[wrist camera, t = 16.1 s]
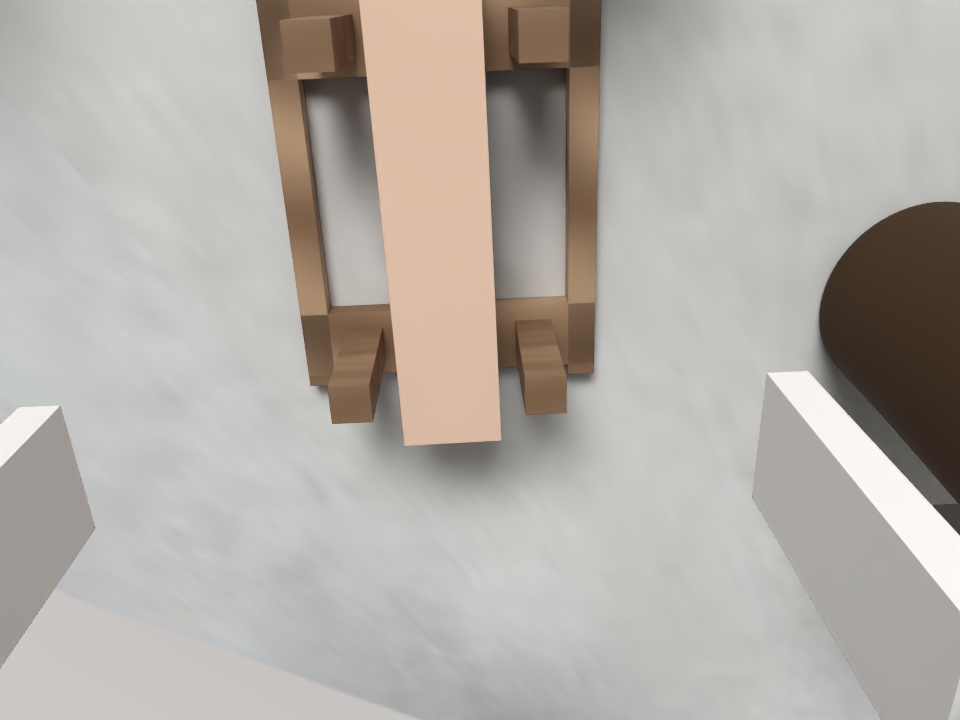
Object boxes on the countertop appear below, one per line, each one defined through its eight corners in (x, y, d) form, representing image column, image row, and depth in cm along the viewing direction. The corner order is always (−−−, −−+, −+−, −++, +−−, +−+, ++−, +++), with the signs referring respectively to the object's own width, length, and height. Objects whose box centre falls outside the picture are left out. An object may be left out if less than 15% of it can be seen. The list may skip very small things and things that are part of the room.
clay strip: (370, -36, 30) (355, -41, 26) (476, -42, 30) (479, -48, 26) (411, 391, 38) (404, 445, 33) (496, 386, 38) (501, 440, 33)
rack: (259, -17, 31) (208, -19, 25) (597, -31, 32) (632, -37, 25) (314, 376, 39) (285, 452, 32) (590, 363, 39) (616, 437, 32)
